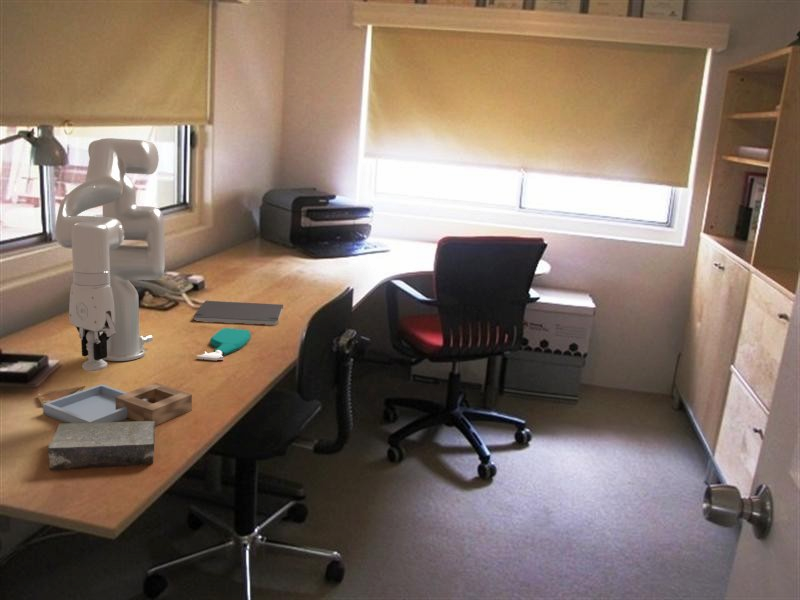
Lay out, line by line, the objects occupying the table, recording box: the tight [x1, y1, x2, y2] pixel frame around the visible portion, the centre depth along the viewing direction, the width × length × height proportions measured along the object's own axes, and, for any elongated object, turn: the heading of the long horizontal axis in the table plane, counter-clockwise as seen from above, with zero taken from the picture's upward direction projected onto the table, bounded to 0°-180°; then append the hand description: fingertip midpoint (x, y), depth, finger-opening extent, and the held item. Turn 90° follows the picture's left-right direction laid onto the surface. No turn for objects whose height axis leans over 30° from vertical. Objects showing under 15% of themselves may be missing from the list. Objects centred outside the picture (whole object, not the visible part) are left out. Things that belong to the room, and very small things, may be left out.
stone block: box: [47, 420, 156, 472], centre depth 147 cm, size 14×20×5 cm
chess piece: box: [81, 331, 108, 372], centre depth 162 cm, size 5×5×9 cm
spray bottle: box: [196, 327, 252, 361], centre depth 216 cm, size 3×11×24 cm
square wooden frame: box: [115, 382, 193, 427], centre depth 168 cm, size 12×12×4 cm
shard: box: [37, 385, 86, 407], centre depth 172 cm, size 11×8×2 cm
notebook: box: [193, 300, 284, 326], centre depth 251 cm, size 22×2×28 cm
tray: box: [42, 383, 148, 424], centre depth 166 cm, size 16×16×2 cm
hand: (94, 355), depth 163 cm, fingers closed on chess piece, 3 cm apart
